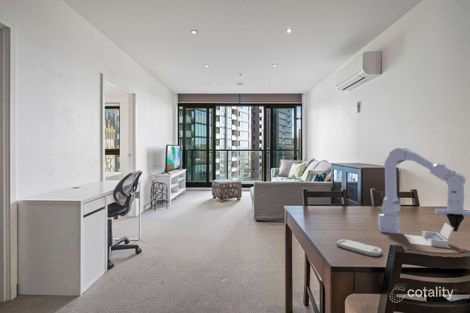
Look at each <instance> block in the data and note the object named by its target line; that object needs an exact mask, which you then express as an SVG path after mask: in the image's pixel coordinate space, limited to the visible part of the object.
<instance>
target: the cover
mask: <svg viewBox="0 0 470 313" xmlns="http://www.w3.org/2000/svg"><path fill="white" fill-rule="evenodd" d="M453 230H454V228H453V227H451V224H448V223H447V222H444V224H443V226H442V228H441V230H440V232H439V234H440V235H441V236H442V237H444V238H445V239H446V240H447V241H449V239H450V238H451V236H452V233H453V232H454V231H453Z"/></svg>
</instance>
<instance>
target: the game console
mask: <svg viewBox="0 0 470 313" xmlns="http://www.w3.org/2000/svg"><path fill="white" fill-rule="evenodd" d="M336 245H337V246H338V247H339V248H342V249H345V250H348V251H352V252H355V253H359V254H363V255H366V256H372V257H379V256H381V255H382V254H383V250H382V248H380V247H378V246H375V245H371V244H366V243H362V242H359V241H355V240H351V239H343V238H342V239H341V238H340V239H338V240H337V241H336Z"/></svg>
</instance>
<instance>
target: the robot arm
mask: <svg viewBox="0 0 470 313" xmlns="http://www.w3.org/2000/svg"><path fill="white" fill-rule="evenodd" d="M388 154H389V155H388V156H387V158H386V159H385V161H384V193H385V194H384V195H385V196H384V197H383V199H382V204H381V208H380V209H381V212H382V213H378V216H377V217H378V219H377V229H378V230H379V232H380V233H390V234H401V231H400V229H399V225H400V224H399V223H400V214H399V212H400V211H401V208H402V206H401V204H400V201H399V200H400V199H399V198H398V195H397V193H398V192H397V191H398V190H397V185H398V184H397V167H398V165H400V164H401V163H403V162H405V161H411V162H415V163H417V164H419V166H422V167H423V168H426V169H427V170H429V171H430V174H431V175H433V176H435V177H436V178H438V179H439V180H442V181H443V182H445V183H446V185H447V202H446V205H447V206H446V208H434V209H435V210H434V214H437V215H440V214H441V215H446V217H447V219H448V221H449V225H450V226H451V227H453V228H454V230H453V232H456V233H457V232H458V229H459V227H460V225H461V223H462V222H463V220H464V219H465V216H466V217H470V210H464V208H465V207H464V205H465V200H464V199H465V190H464V189H465V188H464V187H465V186H464V185H465V184H466V182H467V181H466V177H465V176H464V175H462V174H461V173H458V172H457V171H456V170H452V169H450V168H448V167H446V164H443V163H433V162H432V161H430V160H429V159H427V158H425V157H424V156H422V155H421V154H418V153H416V152H415V151H413V150H411V149H409V148H403V147H402V148H401V147H400V148H399V147H395V148H394V149H392V150H391V151H390V152H389V153H388Z"/></svg>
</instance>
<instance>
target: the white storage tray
mask: <svg viewBox="0 0 470 313" xmlns="http://www.w3.org/2000/svg"><path fill="white" fill-rule="evenodd" d="M403 235H404V236H405V238H406V239H407V241H408V242H409V243H410V244H413V245H421V246H428V247H429V246H431V247H439V248H449V249H451V246H449V240H448V239H446V238H445V237H444V236H443V235H441V234H440V232H437V231H427V230H422V231H421V235H413V234H412V235H411V234H403ZM432 236H435V237H438V238H439V239H441V240H433V239H432Z"/></svg>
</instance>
